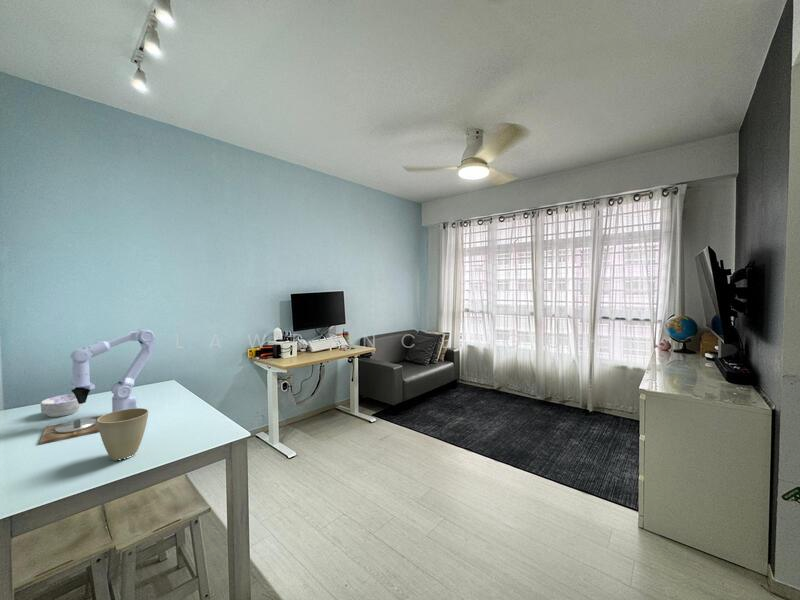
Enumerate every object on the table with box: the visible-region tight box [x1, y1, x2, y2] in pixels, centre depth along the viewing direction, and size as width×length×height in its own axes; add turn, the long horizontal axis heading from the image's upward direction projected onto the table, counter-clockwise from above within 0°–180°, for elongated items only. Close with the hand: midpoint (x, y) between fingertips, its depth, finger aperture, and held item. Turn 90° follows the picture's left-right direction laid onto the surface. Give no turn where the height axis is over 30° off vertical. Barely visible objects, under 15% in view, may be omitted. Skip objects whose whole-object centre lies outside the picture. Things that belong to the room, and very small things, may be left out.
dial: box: [55, 418, 96, 433], centre depth 146 cm, size 13×13×4 cm
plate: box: [39, 415, 102, 446], centre depth 146 cm, size 20×20×1 cm
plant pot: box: [97, 407, 149, 461], centre depth 124 cm, size 15×15×16 cm
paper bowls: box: [40, 393, 85, 418], centre depth 165 cm, size 15×15×8 cm
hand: (82, 403), depth 153 cm, fingers closed
